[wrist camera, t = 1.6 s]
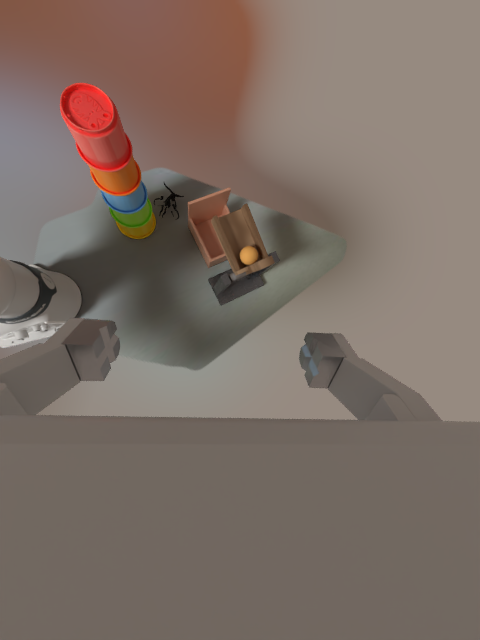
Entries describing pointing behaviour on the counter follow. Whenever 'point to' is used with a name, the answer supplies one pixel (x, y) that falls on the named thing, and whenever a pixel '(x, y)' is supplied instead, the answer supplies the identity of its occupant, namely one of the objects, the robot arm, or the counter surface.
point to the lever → (240, 241)
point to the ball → (248, 255)
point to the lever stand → (237, 283)
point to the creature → (169, 201)
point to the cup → (208, 225)
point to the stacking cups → (108, 157)
